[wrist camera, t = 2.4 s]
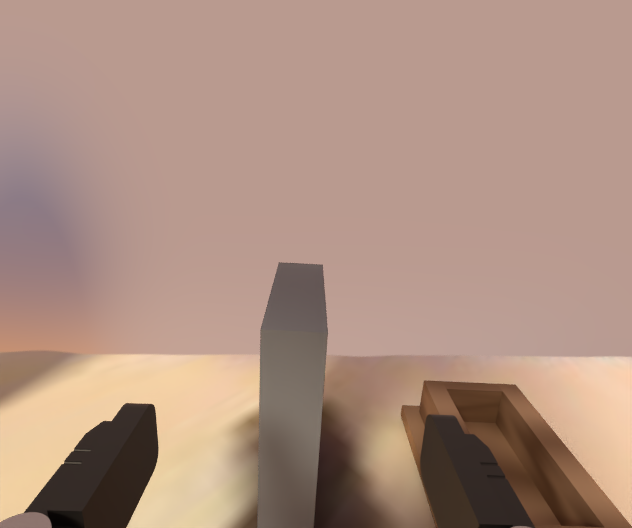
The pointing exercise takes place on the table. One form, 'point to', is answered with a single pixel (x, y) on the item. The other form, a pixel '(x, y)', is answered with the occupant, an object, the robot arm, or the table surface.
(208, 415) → the table surface
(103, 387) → the table surface
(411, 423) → the rack
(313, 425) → the grey upright flat block
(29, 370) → the table surface
